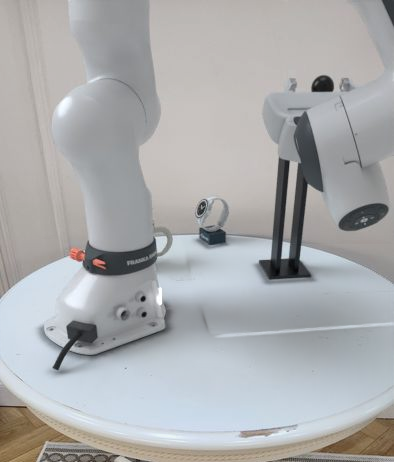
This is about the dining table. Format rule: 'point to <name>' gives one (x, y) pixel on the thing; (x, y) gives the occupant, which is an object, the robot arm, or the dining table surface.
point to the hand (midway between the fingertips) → (317, 81)
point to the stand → (276, 265)
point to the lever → (322, 84)
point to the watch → (213, 232)
